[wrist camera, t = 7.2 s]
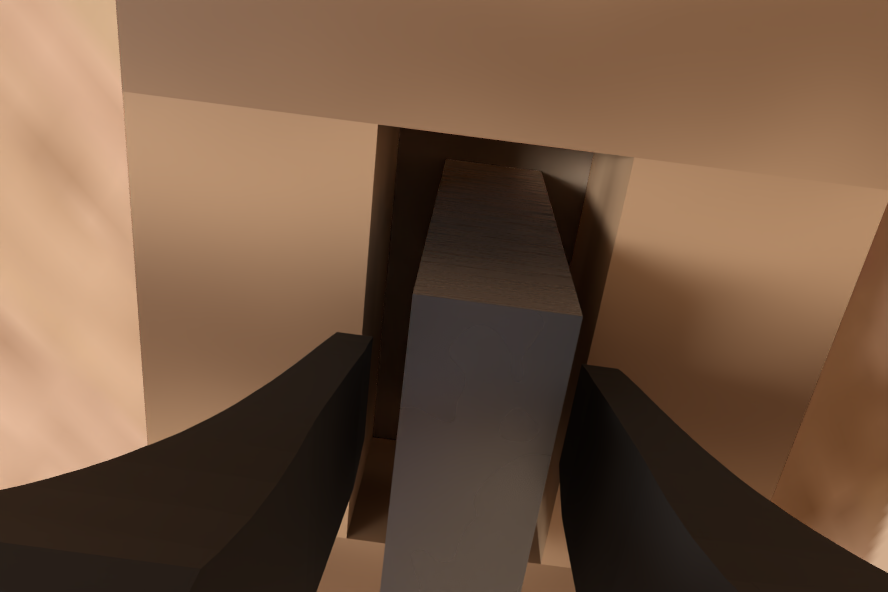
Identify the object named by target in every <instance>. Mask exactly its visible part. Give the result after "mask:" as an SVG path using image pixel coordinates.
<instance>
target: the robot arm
mask: <svg viewBox="0 0 888 592" xmlns="http://www.w3.org/2000/svg"><path fill="white" fill-rule="evenodd" d="M372 343H373V337H372V336H364V335H357V334H349V333H341V332H336V333H335V334H333V335H332V336H331V337H329V338H328V339H327V340H325V341H324V342H322V343H321V344H320V345H319V346H317V347H316V348H315V349H314V350H312V351H311V352H310V353H308V354H307V355H306V356H304V357H303V358H302V359H301V360H299V361H298V362H297V363H295V364H294V365H293V366H291V367H290V368H289V369H287V370H286V371H284V372H283V373H282V374H280V375H279V376H277V377H276V378H275V379H273V380H272V381H271V382H269V383H267V384H266V385H264V386H263V387H261V388H260V389H258V390H256V391H255V392H253V393H252V394H250V395H249V396H247V397H245V398H244V399H242V400H241V401H239V402H238V403H236V404H234V405H233V406H231V407H229V408H227V409H225V410H224V411H222V412H220V413H218V414H216V415H214V416H213V417H211V418H209V419H207V420H205V421H202V422H200V423H198V424H196V425H194V426H192V427H190V428H188V429H186V430H184V431H182V432H180V433H177V434H175V435H173V436H170V437H168V438H165V439H163V440H160V441H158V442H155V443H153V444H150V445H148V446H145V447H143V448H140V449H137V450H135V451H132V452H130V453H127V454H125V455H122V456H120V457H117V458H114V459H111V460H108V461H105V462H102V463H99V464H96V465H93V466H89V467H86V468H83V469H80V470H77V471H73V472H70V473H66V474H63V475H59V476H56V477H52V478H49V479H45V480H41V481H37V482H33V483H29V484H26V485H21V486H17V487H12V488H8V489H3V490H0V592H317V589H318V586H319V584H320V581H321V578H322V575H323V572H324V570H325V567H326V564H327V561H328V559H329V556H330V553H331V550H332V547H333V545H334V542H335V539H336V536H337V534H338V531H339V528H340V525H341V522H342V520H343V517H344V514H345V511H346V508H347V506H348V503H349V500H350V497H351V494H352V491H353V488H354V484H355V479H356V475H357V471H358V466H359V462H360V457H361V452H362V448H363V443H364V439H365V427H366V415H367V403H368V391H369V379H370V367H371V355H372ZM559 478H560V499H561V515H562V522H563V527H564V533H565V538H566V544H567V549H568V554H569V560H570V565H571V570H572V575H573V580H574V585H575V591H576V592H888V573H886V572H885V571H883V570H881V569H879V568H877V567H876V566H874V565H872V564H870V563H868V562H866V561H865V560H863V559H861V558H859V557H857V556H856V555H854V554H852V553H851V552H849V551H847V550H846V549H844V548H842V547H841V546H839V545H837V544H836V543H834V542H832V541H831V540H829V539H827V538H826V537H824V536H822V535H821V534H819V533H817V532H816V531H814V530H812V529H811V528H809V527H808V526H806V525H805V524H803V523H802V522H800V521H798V520H797V519H795V518H794V517H792V516H791V515H789V514H788V513H786V512H785V511H784V510H782V509H781V508H779V507H778V506H777V505H775V504H774V503H772V502H771V501H770V500H768V499H767V498H765V497H764V496H763V495H761V494H760V493H758V492H757V491H755V490H754V489H753V488H751V487H750V486H749V485H747V484H746V483H745V482H744V481H742V480H741V479H740V478H738V477H737V476H736V475H735V474H733V473H732V472H731V471H730V470H728V469H727V468H726V467H725V466H724V465H722V464H721V463H720V462H719V461H718V460H716V459H715V458H714V457H713V456H712V455H710V454H709V453H708V452H707V451H706V450H705V449H703V448H702V447H701V446H700V445H699V444H698V443H697V442H696V441H694V440H693V439H692V438H691V437H690V436H689V435H688V434H687V433H686V432H685V431H684V430H682V429H681V428H680V427H679V426H678V425H677V424H676V423H675V422H674V421H673V420H672V419H671V418H670V417H669V416H668V415H667V414H666V413H665V412H664V411H663V410H661V409H660V408H659V407H658V406H657V405H656V404H655V403H654V402H653V401H652V400H651V399H650V398H649V397H648V396H647V395H646V394H645V393H644V392H643V391H642V390H641V389H640V388H639V387H638V386H637V385H636V384H635V383H634V382H633V381H632V380H631V379H630V378H629V377H628V376H626V375H625V374H624V373H623V372H622V371H621V370H619V369H617V368H609V367H601V366H594V365H586V364H582V365H581V369H580V373H579V378H578V382H577V387H576V391H575V395H574V400H573V404H572V409H571V413H570V417H569V422H568V426H567V431H566V435H565V439H564V444H563V448H562V453H561V457H560V461H559Z"/></svg>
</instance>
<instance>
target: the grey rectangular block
mask: <svg viewBox="0 0 888 592" xmlns="http://www.w3.org/2000/svg"><path fill="white" fill-rule="evenodd" d="M582 319H583V315H582V311H581V308H580V304H579V301H578V298H577V294H576V291H575V287H574V284H573V280H572V277H571V273H570V270H569V266H568V263H567V259H566V256H565V252H564V249H563V245H562V242H561V238H560V235H559V231H558V228H557V224H556V221H555V218H554V214H553V211H552V207H551V204H550V200H549V197H548V193H547V190H546V186H545V183H544V179H543V176H542V172H541V171H536V170H528V169H521V168H513V167H505V166H498V165H490V164H483V163H475V162H468V161H460V160H453V159H446V161H445V165H444V169H443V173H442V177H441V181H440V185H439V189H438V193H437V197H436V202H435V206H434V210H433V214H432V218H431V222H430V226H429V230H428V234H427V238H426V242H425V246H424V250H423V254H422V258H421V262H420V267H419V271H418V275H417V279H416V283H415V287H414V291H413V296H412V305H411V314H410V323H409V332H408V342H407V351H406V360H405V369H404V378H403V387H402V396H401V405H400V414H399V423H398V432H397V441H396V450H395V459H394V468H393V477H392V486H391V495H390V504H389V514H388V523H387V532H386V541H385V550H384V559H383V568H382V577H381V586H380V592H521V590H522V585H523V581H524V576H525V572H526V568H527V563H528V559H529V554H530V550H531V545H532V541H533V536H534V532H535V528H536V523H537V519H538V514H539V510H540V505H541V501H542V496H543V492H544V488H545V483H546V479H547V474H548V470H549V465H550V461H551V456H552V452H553V447H554V443H555V439H556V434H557V430H558V425H559V421H560V416H561V412H562V407H563V403H564V399H565V394H566V390H567V385H568V381H569V376H570V372H571V367H572V363H573V359H574V354H575V350H576V345H577V341H578V336H579V332H580V327H581V323H582Z"/></svg>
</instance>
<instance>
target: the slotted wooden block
mask: <svg viewBox="0 0 888 592" xmlns="http://www.w3.org/2000/svg"><path fill="white" fill-rule="evenodd" d="M116 10H117V24H118V38H119V52H120V66H121V80H122V94H123V108H124V122H125V135H126V149H127V163H128V177H129V191H130V205H131V219H132V233H133V247H134V261H135V274H136V288H137V302H138V316H139V330H140V344H141V358H142V372H143V386H144V399H145V413H146V427H147V441H148V445H150V444H153V443H155V442H158V441H160V440H163V439H165V438H168V437H170V436H173V435H175V434H177V433H180V432H182V431H184V430H186V429H188V428H190V427H192V426H194V425H196V424H198V423H200V422H202V421H205V420H207V419H209V418H211V417H213V416H214V415H216V414H218V413H220V412H222V411H224V410H225V409H227V408H229V407H231V406H233V405H234V404H236V403H238V402H239V401H241V400H242V399H244V398H245V397H247V396H249V395H250V394H252V393H253V392H255V391H256V390H258V389H260V388H261V387H263V386H264V385H266V384H267V383H269V382H271V381H272V380H273V379H275V378H276V377H277V376H279V375H280V374H282V373H283V372H284V371H286V370H287V369H289V368H290V367H291V366H293V365H294V364H295V363H297V362H298V361H299V360H301V359H302V358H303V357H304V356H306V355H307V354H308V353H310V352H311V351H312V350H314V349H315V348H316V347H317V346H319V345H320V344H321V343H322V342H324V341H325V340H327V339H328V338H329V337H331V336H332V335H333V334H335V333H336V332H341V333H349V334H357V335H364V336H372V337H373V343H372V355H371V367H370V379H369V391H368V403H367V415H366V427H365V439H364V443H363V448H362V452H361V457H360V462H359V466H358V471H357V475H356V479H355V484H354V488H353V491H352V494H351V497H350V500H349V503H348V506H347V508H346V511H345V514H344V517H343V520H342V522H341V525H340V528H339V531H338V534H337V536H336V539H335V542H334V545H333V547H332V550H331V553H330V556H329V559H328V561H327V564H326V567H325V570H324V572H323V575H322V578H321V581H320V584H319V586H318V589H317V592H380V586H381V577H382V568H383V559H384V550H385V541H386V532H387V523H388V514H389V504H390V495H391V486H392V477H393V468H394V459H395V450H396V441H397V440H389V439H382V438H374V437H373V426H374V414H375V403H376V392H377V381H378V370H379V358H380V347H381V336H382V325H383V314H384V302H385V291H386V280H387V269H388V258H389V246H390V235H391V224H392V213H393V202H394V190H395V179H396V168H397V157H398V146H399V134H400V127H402V128H409V129H417V130H425V131H433V132H440V133H448V134H456V135H464V136H471V137H479V138H487V139H495V140H502V141H510V142H518V143H526V144H534V145H541V146H549V147H557V148H565V149H572V150H580V151H588V152H594V155H593V160H592V165H591V169H590V174H589V179H588V184H587V189H586V194H585V199H584V203H583V208H582V213H581V218H580V223H579V228H578V233H577V237H576V242H575V247H574V252H573V257H572V262H571V267H570V273H571V277H572V280H573V284H574V287H575V291H576V294H577V298H578V301H579V304H580V308H581V311H582V315H583V319H582V323H581V327H580V332H579V336H578V341H577V345H576V350H575V354H574V359H573V363H572V367H571V372H570V376H569V381H568V385H567V390H566V394H565V399H564V403H563V407H562V412H561V416H560V421H559V425H558V430H557V434H556V439H555V443H554V447H553V452H552V456H551V461H550V465H549V470H548V474H547V479H546V483H545V488H544V492H543V496H542V501H541V505H540V510H539V514H538V519H537V523H536V528H535V532H534V536H533V541H532V545H531V550H530V554H529V559H528V563H527V568H526V572H525V576H524V581H523V585H522V590H521V592H576V591H575V585H574V580H573V575H572V570H571V565H570V560H569V554H568V549H567V544H566V538H565V533H564V527H563V522H562V515H561V499H560V478H559V461H560V457H561V453H562V448H563V444H564V439H565V435H566V431H567V426H568V422H569V417H570V413H571V409H572V404H573V400H574V395H575V391H576V387H577V382H578V378H579V373H580V369H581V365H582V364H586V365H594V366H601V367H609V368H617V369H619V370H621V371H622V372H623V373H624V374H625V375H626V376H628V377H629V378H630V379H631V380H632V381H633V382H634V383H635V384H636V385H637V386H638V387H639V388H640V389H641V390H642V391H643V392H644V393H645V394H646V395H647V396H648V397H649V398H650V399H651V400H652V401H653V402H654V403H655V404H656V405H657V406H658V407H659V408H660V409H661V410H663V411H664V412H665V413H666V414H667V415H668V416H669V417H670V418H671V419H672V420H673V421H674V422H675V423H676V424H677V425H678V426H679V427H680V428H681V429H682V430H684V431H685V432H686V433H687V434H688V435H689V436H690V437H691V438H692V439H693V440H694V441H696V442H697V443H698V444H699V445H700V446H701V447H702V448H703V449H705V450H706V451H707V452H708V453H709V454H710V455H712V456H713V457H714V458H715V459H716V460H718V461H719V462H720V463H721V464H722V465H724V466H725V467H726V468H727V469H728V470H730V471H731V472H732V473H733V474H735V475H736V476H737V477H738V478H740V479H741V480H742V481H744V482H745V483H746V484H747V485H749V486H750V487H751V488H753V489H754V490H755V491H757V492H758V493H760V494H761V495H763V496H764V497H765V498H767V499H768V500H770V501H771V499H772V496H773V494H774V491H775V489H776V486H777V484H778V481H779V479H780V476H781V473H782V471H783V468H784V466H785V463H786V461H787V458H788V456H789V453H790V450H791V448H792V445H793V443H794V440H795V438H796V435H797V433H798V430H799V428H800V425H801V422H802V420H803V417H804V415H805V412H806V410H807V407H808V405H809V402H810V399H811V397H812V394H813V392H814V389H815V387H816V384H817V382H818V379H819V377H820V374H821V371H822V369H823V366H824V364H825V361H826V359H827V356H828V354H829V351H830V348H831V346H832V343H833V341H834V338H835V336H836V333H837V331H838V328H839V326H840V323H841V320H842V318H843V315H844V313H845V310H846V308H847V305H848V303H849V300H850V297H851V295H852V292H853V290H854V287H855V285H856V282H857V280H858V277H859V275H860V272H861V269H862V267H863V264H864V262H865V259H866V257H867V254H868V252H869V249H870V247H871V244H872V241H873V239H874V236H875V234H876V231H877V229H878V226H879V224H880V221H881V218H882V216H883V213H884V211H885V208H886V206H887V203H888V0H116Z"/></svg>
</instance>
